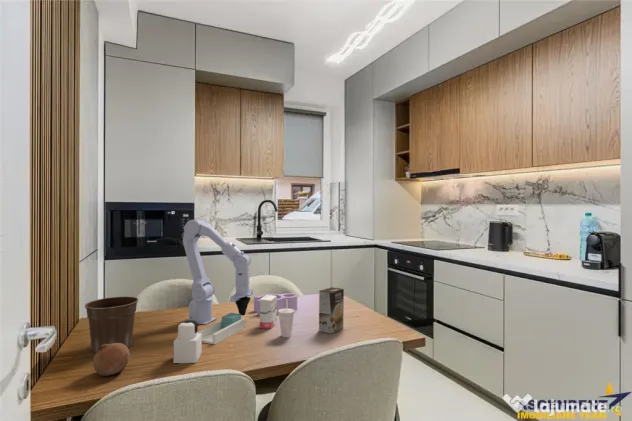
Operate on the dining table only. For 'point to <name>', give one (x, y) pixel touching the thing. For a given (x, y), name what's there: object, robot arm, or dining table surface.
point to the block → (230, 319)
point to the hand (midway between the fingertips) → (242, 314)
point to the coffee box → (331, 309)
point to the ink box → (268, 311)
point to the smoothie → (286, 320)
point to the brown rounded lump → (111, 359)
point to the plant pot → (111, 321)
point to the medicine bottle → (187, 343)
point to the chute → (220, 331)
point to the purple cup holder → (278, 301)
